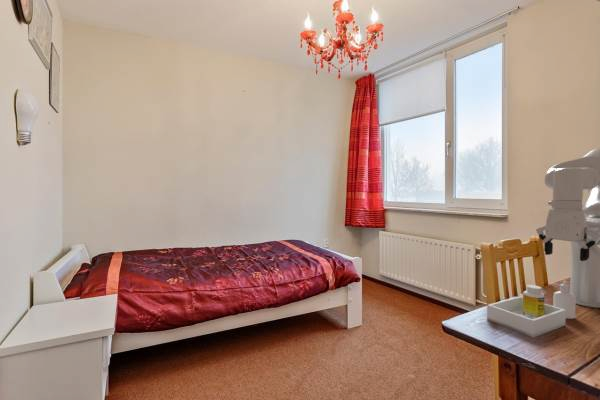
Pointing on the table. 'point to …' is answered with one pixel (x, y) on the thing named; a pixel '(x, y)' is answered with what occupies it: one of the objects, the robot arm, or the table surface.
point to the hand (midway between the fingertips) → (565, 257)
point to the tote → (512, 317)
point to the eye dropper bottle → (565, 300)
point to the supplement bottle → (533, 302)
